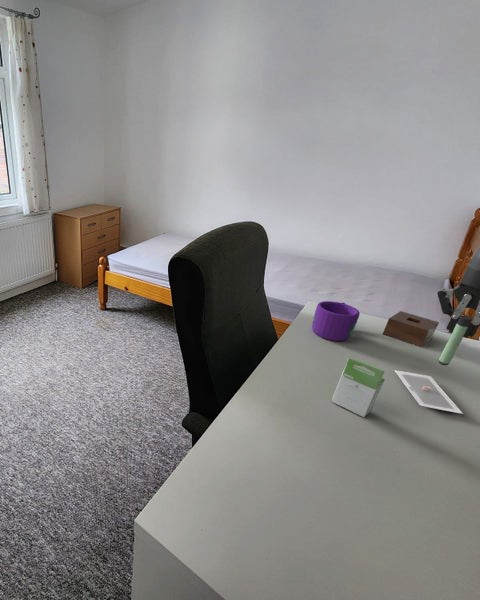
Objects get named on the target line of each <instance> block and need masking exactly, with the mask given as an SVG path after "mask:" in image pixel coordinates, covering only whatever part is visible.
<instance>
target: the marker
mask: <svg viewBox="0 0 480 600" xmlns="http://www.w3.org/2000/svg"><path fill="white" fill-rule="evenodd" d="M472 321H473V318H472V317H471V316H468V315H461V316H460V318H459V320H458V322H457V324H456V326H455V328H454V330H453V332H452V333H450V334H451V335H450V336H449V338H448V340H447V342H446V344H445V346H444V349H443V351H442V352H441V355H440V356H439V359H438V364H440V366H448V365H450V363H451V362H452V360H453V358H454V356H455V354H456V352H457V350H458V349H459V346H460V345H461V342H462V341H463V338H464V337H463V336H464V334H465V332H466V330H467V329H468V327H469V325H470V323H471V322H472Z"/></svg>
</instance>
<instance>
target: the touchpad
mask: <svg viewBox="0 0 480 600" xmlns="http://www.w3.org/2000/svg"><path fill="white" fill-rule="evenodd" d="M394 372H395V373H396V375H397V376H398V378H399V379H400V381H401V382H402V384H404V386H405V387H406V388H407V390H408V391H409V392H410V394H411V395H412V397H413V398H414V400H415V401H416V403H418V405H419V406H420V407H426V408H431V409H435V410H441V411H446V412H451V413H456V414H464V413H463V412H462V411H461V410H460V408H459V407H458V406H457V405H456V404H455V403H454V402H453V400H452V399H451V398H450V397H449V396H448V395H447V394H446V392H445V391H444V390H443V389H442V388H441V386H439V384H438V383H437V382H436V380H435V379H434V378H433V377H432V376H431V375H425V374H420V373H414V372H407V371H402V370H396V369H395V370H394Z"/></svg>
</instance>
